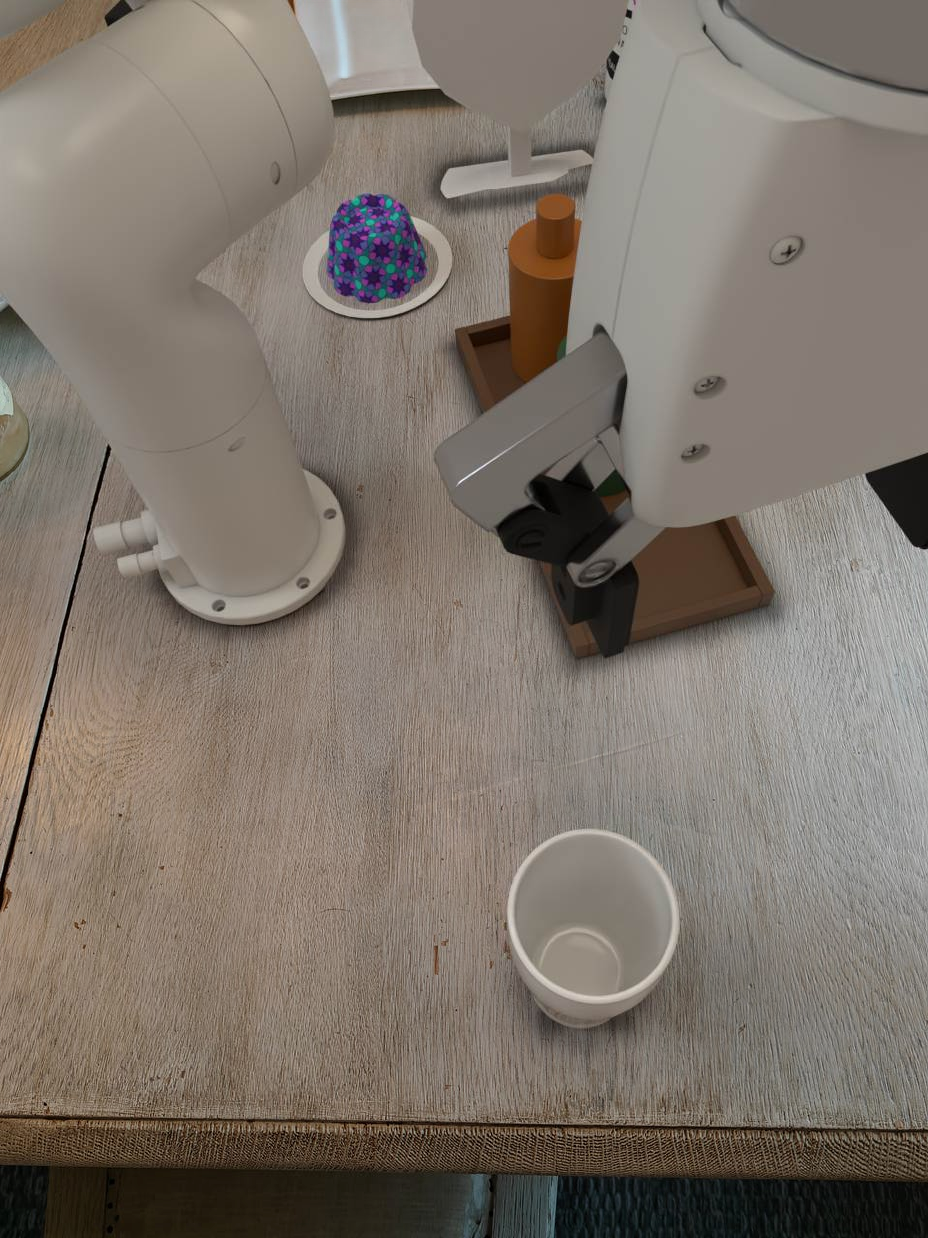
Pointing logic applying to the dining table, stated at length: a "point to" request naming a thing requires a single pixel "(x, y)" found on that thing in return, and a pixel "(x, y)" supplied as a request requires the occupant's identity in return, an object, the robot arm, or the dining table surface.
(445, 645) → the dining table surface
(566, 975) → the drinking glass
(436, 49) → the heart sculpture
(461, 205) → the dining table surface
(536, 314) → the amber bottle
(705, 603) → the tray
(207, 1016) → the dining table surface
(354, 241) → the pudding
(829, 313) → the robot arm
